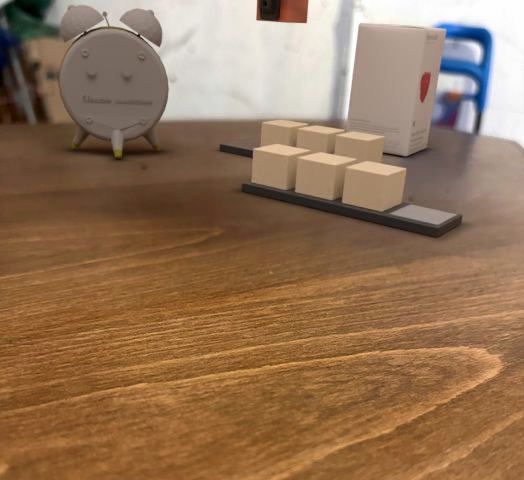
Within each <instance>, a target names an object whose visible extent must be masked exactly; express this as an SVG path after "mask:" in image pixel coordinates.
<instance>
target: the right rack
mask: <svg viewBox="0 0 524 480" xmlns="http://www.w3.org/2000/svg"><path fill="white" fill-rule="evenodd" d="M356 162H357V159H354V158H349V157H343V156H338V155H333V154H327V153H322V152H319V153H315V154H311V150H306V149H301V148H296V147H291V146H285V145H280V144H274V145H269V146H264V147H259V148H254V149H253V157H252V163H251V165H252V167H251V180H248V181H245V182H242V184H241V192H245V193H248V194H253V195H256V196H261V197H265V198H270V199H273V200H278V201H282V202H286V203H290V204H294V205H299V206H302V207H307V208H311V209H316V210H319V211H324V212H327V213H328V212H329V213H332V214H337V215H339V216H340V215H341V216H346V217H349V218H353V219H357V220H362V221H366V222H370V223H374V224H378V225H383V226H386V227H391V228H395V229H400V230H403V231H408V232H412V233H417V234H419V235H425V236H429V237H433V238H438V237H440V236H442V235H443V234H445V233H447V232H449V231H450V230H451V231H452V230H453V229H454V228H456V227H457V226H459V225H461V224H462V221H463V216H464V215H463V214H461V213H456V212H452V211H451V212H450V211H445V210H442V209H436V208H432V207H427V206H423V205H418V204H415V203H409V202H405V201H403V196H404V188H405V182H406V176H407V169H408V168H406V167H401V166H396V165H390V164H386V163H381V164H380V163H375V162H370V161H366V162H362V163H359V164H356Z"/></svg>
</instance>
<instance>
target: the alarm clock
mask: <svg viewBox="0 0 524 480" xmlns="http://www.w3.org/2000/svg"><path fill="white" fill-rule="evenodd" d="M107 17H108V12H107V11H105V10H104V11H103V12H102V14H101V13H100V11H98V10H97V9H95V8H94V7H92V6H90V5H86V4H77V5H74V4H69V5H68V6H67V10H66V11H65V13H64V14H63V15H62V18H61V21H60V26H59V29H60V36H61V38H62V40H63V42H64V43H67V42H69V41H70V40H73V39H74V41H72V43H71V44H70V45H69V47H68V48H67V50H66V51H65V53H64V55H63V58H62V60H61V61H60V67H59V72H58V89H59V95H60V99H61V101H62V103H63V106H64V109H65V110H66V112H67V113H68V116H69V117H70V118H71V119H72V121H73V122H74V123H75V124H76V125H77V128H76V131H75V134H74V137H73V140H72V144H71V146H70V147H71V148H72V149H73V150H74V151H77V150H78V149H79V148H80V147H81V146H82V145H83V144H84V142H85V141H86V139H87V138H88V137H89V136H92V137H94V138H96V139H99V140H102V141H105V142H111V147H112V151H113V156H114V158H115V159H116V160H121V159H122V156H123V148H124V143H127V142H130V141H134V140H137V139H139V138H142V137H143V139H145V140H146V142H147V143H148V144H149V145H150V146H151V148H152V149H153V150H154V151H155V152H159V151H160V150H161V145H160V143H159V140H158V137H157V135H156V132H155V129H154V128H155V126H156V125H157V124H158V123H159V122H160V120H161V119H162V117H163V115H164V113H165V111H166V107H167V103H168V100H169V91H170V88H169V78H168V75H167V71H166V67H165V65H164V63H163V61H162V59H161V57H160V55H159V54H158V53H157V51H156V50H155V49H154V47H153V46H152V45H150V44H149V42H150V43H152V44H154V45H155V46H157V47H158V48H160V47H161V45H162V43H163V28H162V25H161V23H160V21H159V19H158V18H157V17H156V16H155V12H154V11H153V10H152V9H143V8H132V9H130V10H128V11H125V12H124V13H123V14H122V15H121V16H120V18H119V22H121V23H122V24H124V25H125V26H126V27H128V28H129V29H131V30H132V31H131V30H129V29H127V28H125V27H120V26H113V25H110V23H109V20H108V18H107ZM104 20H105V21H106V24H107V26H105V25H104V26H98V27H95V26H97V25H98V24H101V22H103V21H104ZM93 27H95V28H93ZM75 38H76V39H75ZM145 39H146V40H145ZM148 41H149V42H148Z"/></svg>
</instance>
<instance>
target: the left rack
mask: <svg viewBox="0 0 524 480" xmlns="http://www.w3.org/2000/svg"><path fill="white" fill-rule="evenodd" d="M384 139H385V137H384V136H378V135H372V134H366V133H360V132H354V131H353V132H348V133H346V129H341V128H336V127H330V126H329V127H328V126H322V125H318V124H315V125H310V126H309V124H308V123H307V122H306V123H305V122H301V121H300V122H299V121H292V120H288V119H287V120H286V119H274V120H268V121H262V122H261V130H260V140H255V139H250V138H244V139H240V140H234V141H228V142H223V143H222V142H221V143H219V151H220V152H226V153H229V154H233V155H234V154H235V155H240V156H244V157H248V158H249V157H250V158H253V149H254V148H259V147H264V146H269V145H274V144H280V145H285V146H291V147H296V148H301V149H306V150H311V154H315V153H319V152H322V153H327V154H333V155H338V156H343V157H349V158H354V159H357V162H356V164H359V163H362V162H366V161H370V162H375V163H380V164H382V161H383V154H384V153H383V146H384Z"/></svg>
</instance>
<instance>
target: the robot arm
mask: <svg viewBox="0 0 524 480" xmlns="http://www.w3.org/2000/svg"><path fill="white" fill-rule="evenodd" d="M259 1H260V2H259V11H260V18H261V19H263V20H278V19H279V18H280V8H281V0H259Z"/></svg>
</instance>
